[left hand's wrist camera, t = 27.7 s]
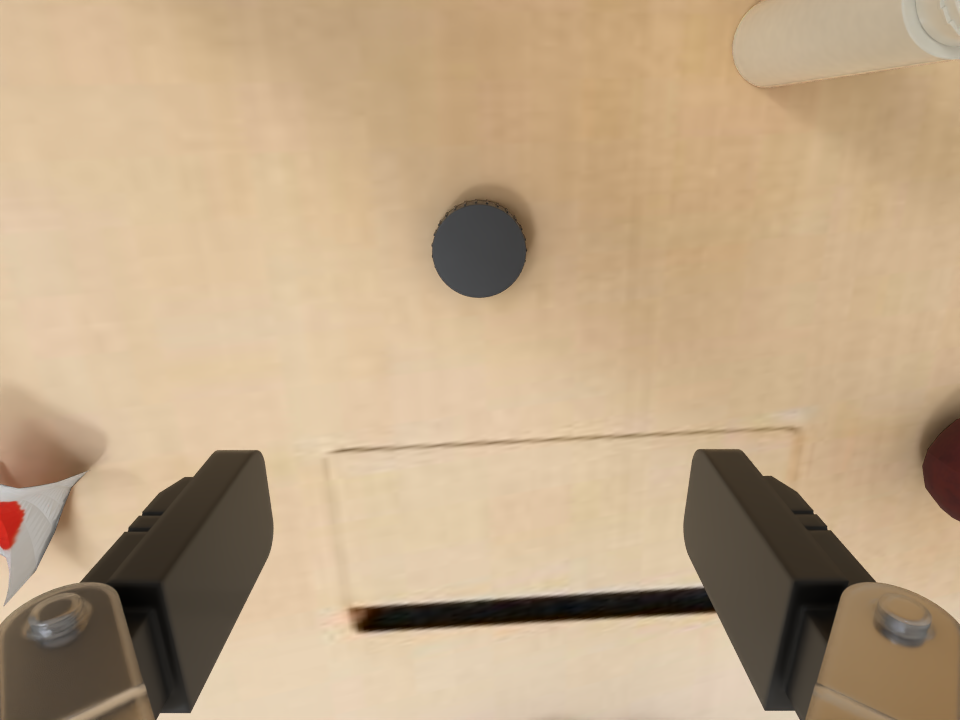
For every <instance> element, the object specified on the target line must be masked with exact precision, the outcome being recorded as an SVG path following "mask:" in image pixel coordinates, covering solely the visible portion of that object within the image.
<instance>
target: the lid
mask: <svg viewBox="0 0 960 720" xmlns="http://www.w3.org/2000/svg"><path fill="white" fill-rule="evenodd" d="M438 226H439V227H438V229H437V230H436V231H435V233H434V236H435V237H434V240H433V243H432V257H433V261H434V265H435V268H436V270H437V272H438V274H439V276H440V277H441V279H442V280H443V281H444V282H445V283H446V285H448V286H449V287H450V288H451V289H453V290H454V291H456V292H458V293H460V294H462V295H465V296H469V297H475V298H484V297H490V296H493V295H496V294H499V293H501V292H502V291H504V290H506V289H507V288H508V287H510V286H511V285H512V284H513V283H514V282H515V281H516V279H517V278H518V276H519V275H520V273H521V271H522V269H523V266H524V262H525V261H526V260H525V257H526V251H527V249H526V245H525V240H526V238H525V236H524V235H523V233H522V231H521V230H522V227H521V225H519V224H518V222H517V221H516V217H515V216H512V214H511V213H510V212H508V209H507V208H506V209H505V208H503V207H502V206H500V205H499V204H498V203H496V204H495V203H493V202H489V201H488V200H486V201H482V200H477V199H475V201H469V202H466V201H465V202H464V203H463V204H461V205H459V206H455V207H454V209H452V210H451V211H450V212H449V213H448V212H447V213H446V215H445V217H444V218H443V220H442V221H441V220H440V222H439V224H438Z"/></svg>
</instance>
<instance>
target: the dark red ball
mask: <svg viewBox="0 0 960 720" xmlns="http://www.w3.org/2000/svg"><path fill="white" fill-rule="evenodd" d="M923 475H924V482H925V488H926V489H927V490H928V492H929V493H930V494H931V496H932V497H933V498H934V500H935V501H936V502H937V504H938V505H939V506H940V508H942V509H943V510H944V511H945V512H946V513H947V514H949V515H950V516H951V517H952V518H954V519H956V520H958V521H960V418H959V419H957V420H956V421H954V422H953V423H952V424H951V425H950V426H949V427H947V428H946V429H945V430H944V431H943V432H942V433H940V435H939V436H938V437H937V438H936V440H935V441H934V442H933V443H932V445H931V446H930V447H929V448H928V451H927V454H926V457H925V460H924V463H923Z"/></svg>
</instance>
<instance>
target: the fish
mask: <svg viewBox="0 0 960 720" xmlns="http://www.w3.org/2000/svg"><path fill="white" fill-rule="evenodd" d="M89 471H90V470H89ZM86 472H87V471H86ZM86 472H84V473H81V474H78V475H75V476H73V477H70V478H67V479H64V480H62V481H59V482H56V483H51V484H46V485H40V486H34V487H26V488H19V489H18V488H14V487H10V486H6V485H2V484H0V554H1V555H2V556H4V557H6V559H7V562H8V567H9V587H8V592H7V597H6V600H5V603H4V606H5V604H6V603H7V602H8V601H9V600H10V599H11V598H12V597H13V596H14V594H15V593H16V592H17V591H18V590H19V589H20V588H21V587H22V586H23V584H24V583H25V582H26V581H27V580H28V579H29V578H30V577H31V576H32V574H33V573H34V572H35V571H36V569H37V567H38V565H39V563H40V561H41V559H42V557H43V555H44V553H45V551H46V549H47V547H48V545H49V543H50V541H51V539H52V537H53V535H54V533H55V530H56V527H57V524H58V522H59V519H60V516H61V513H62V510H63V508H64V505H65V503H66V500H67V497H68V495H69V492H70V490H71V487H72V486H73V485H74V484H75V483H76V482H77V481H78V480H79V479H80V478H81V477H82V476H83V475H84V474H85V473H86Z"/></svg>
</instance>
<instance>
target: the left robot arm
mask: <svg viewBox="0 0 960 720" xmlns="http://www.w3.org/2000/svg"><path fill="white" fill-rule="evenodd" d="M683 528H684V540H685V546H686V549H687V553H688V555H689V557H690V559H691V561H692V563H693V566H694V568H695V570H696V572H697V574H698V576H699V578H700V580H701V582H702V584H703V586H704V588H705V590H706V592H707V594H708V596H709V598H710V600H711V602H712V604H713V606H714V608H715V610H716V612H717V614H718V616H719V618H720V620H721V622H722V624H723V627H724V629H725V631H726V633H727V635H728V637H729V639H730V641H731V643H732V645H733V647H734V649H735V651H736V653H737V655H738V657H739V659H740V661H741V663H742V665H743V667H744V669H745V671H746V673H747V675H748V677H749V679H750V681H751V683H752V685H753V687H754V690H755V692H756V694H757V696H758V698H759V700H760V702H761V704H762V706H763V708H764V710H765V711H795V712H796V713H797V715H798V717H799V719H800V720H960V624H959V623H958V622H957V621H956V620H955V619H954V618H953V617H952V616H951V615H950V614H949V613H947V612H946V611H945V610H944V609H942V608H941V607H940V606H938V605H937V604H935V603H933V602H932V601H930V600H928V599H927V598H925V597H923V596H921V595H919V594H917V593H914V592H912V591H909V590H907V589H904V588H900V587H897V586H894V585H889V584H884V583H877V582H876V581H875V580H874V579H873V578H872V577H871V576H870V574H869V573H868V572H867V571H866V570H865V569H864V568H863V567H862V565H861V564H860V563H859V562H858V561H857V560H856V559H855V557H854V556H853V555H852V554H851V553H850V552H849V551H848V549H847V548H846V547H845V546H844V545H843V544H842V543H841V541H840V540H839V539H838V538H837V537H836V536H835V535H834V534H833V532H832V531H831V530H827V526H826V524H825V523H824V522H823V521H822V520H821V519H820V518H819V516H818V515H817V514H814V513H813V510H812V509H811V507H810V506H809V505H808V504H807V503H806V502H805V501H804V499H803V498H802V497H801V496H800V495H799V494H798V493H797V492H796V491H795V490H793V489H791V488H790V487H788V486H787V485H785V484H783V483H782V482H780V481H779V480H777V479H775V478H774V477H772V476H762V474H761V473H760V472H759V471H758V469H757V468H756V467H755V466H754V465H753V463H752V462H751V461H750V460H749V458H748V457H747V456H746V455H745V454H744V452H743V451H741V450H739V449H699V450H697V451H696V452H695V454H694V456H693V460H692V465H691V473H690V480H689V487H688V494H687V501H686V508H685V515H684V526H683ZM272 540H273V517H272V510H271V503H270V496H269V489H268V482H267V475H266V468H265V462H264V458H263V455H262V453H261V452H260V451H258V450H217V451H215V452H214V453H213V454H212V455H211V456H210V457H209V459H208V460H207V461H206V462H205V464H204V465H203V466H202V467H201V468H200V470H199V471H198V472H197V473H196V474H195V476H194V477H184V478H183V479H181V480H179V481H178V482H176V483H175V484H173V485H171V486H170V487H168V488H167V489H165V490H163V491H162V492H160V493H159V494H158V495H157V496H156V497H155V498H154V499H153V501H152V502H151V503H150V504H149V505H148V506H147V507H146V508H145V510H144V511H143V512H142V516H138V518H137V519H136V520H135V521H134V522H133V523H132V524H131V525H130V527H129V528H128V532H124V533H123V534H122V536H121V537H120V538H119V539H118V540H117V541H116V542H115V543H114V545H113V546H112V547H111V548H110V549H109V550H108V551H107V552H106V554H105V555H104V556H103V557H102V558H101V559H100V560H99V561H98V563H97V564H96V565H95V566H94V567H93V568H92V569H91V570H90V572H89V573H88V574H87V575H86V576H85V577H84V578H83V580H82V581H81V582H80V583H76V584H71V585H66V586H63V587H60V588H56V589H53V590H51V591H48V592H46V593H43V594H41V595H39V596H37V597H35V598H33V599H32V600H30V601H28V602H27V603H25V604H23V605H22V606H20V607H19V608H18V609H16V610H15V611H14V612H13V613H11V614H10V615H9V616H8V617H7V618H6V619H5V620H4V621H3V622H2V623H1V624H0V720H156V719H157V718H158V716H159V714H160V713H191V711H192V709H193V707H194V705H195V703H196V701H197V699H198V697H199V695H200V693H201V691H202V689H203V687H204V685H205V683H206V681H207V679H208V677H209V675H210V673H211V671H212V669H213V667H214V665H215V663H216V661H217V659H218V657H219V655H220V653H221V651H222V649H223V647H224V645H225V643H226V641H227V639H228V637H229V635H230V633H231V631H232V629H233V627H234V625H235V623H236V620H237V618H238V616H239V614H240V612H241V610H242V608H243V606H244V604H245V602H246V600H247V598H248V596H249V594H250V592H251V590H252V588H253V586H254V584H255V582H256V580H257V578H258V576H259V574H260V572H261V570H262V568H263V566H264V564H265V562H266V560H267V558H268V556H269V553H270V550H271V546H272Z"/></svg>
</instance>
